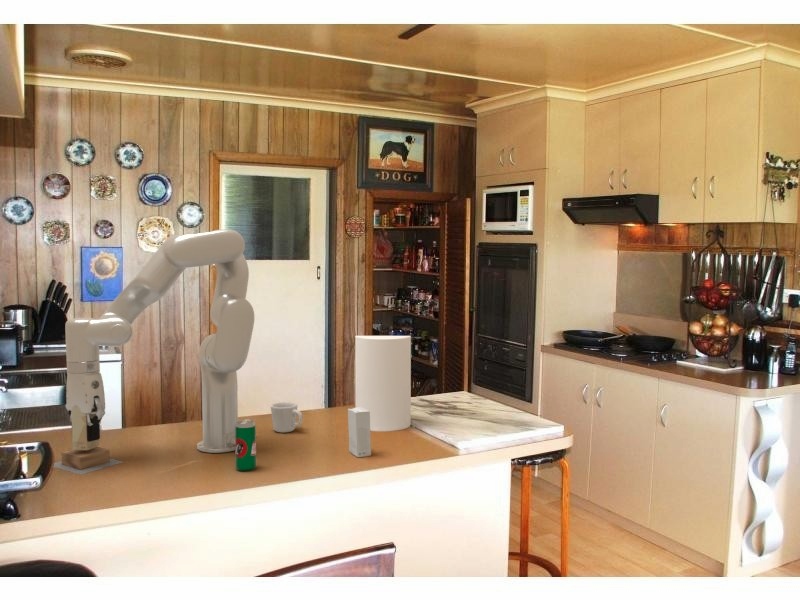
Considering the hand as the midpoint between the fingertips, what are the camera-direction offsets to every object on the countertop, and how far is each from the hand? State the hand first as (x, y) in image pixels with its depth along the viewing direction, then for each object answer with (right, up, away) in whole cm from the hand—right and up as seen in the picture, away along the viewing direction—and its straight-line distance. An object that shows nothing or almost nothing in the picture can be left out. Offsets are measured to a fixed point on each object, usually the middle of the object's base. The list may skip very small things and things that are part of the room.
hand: (85, 437), depth 178 cm
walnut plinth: (0, -7, 0) cm, 7 cm away
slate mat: (0, -7, 0) cm, 7 cm away
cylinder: (+74, -5, +44) cm, 86 cm away
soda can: (+41, -8, -1) cm, 41 cm away
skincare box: (+68, -7, +12) cm, 70 cm away
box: (0, -3, 0) cm, 3 cm away
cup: (+45, -5, +35) cm, 58 cm away
